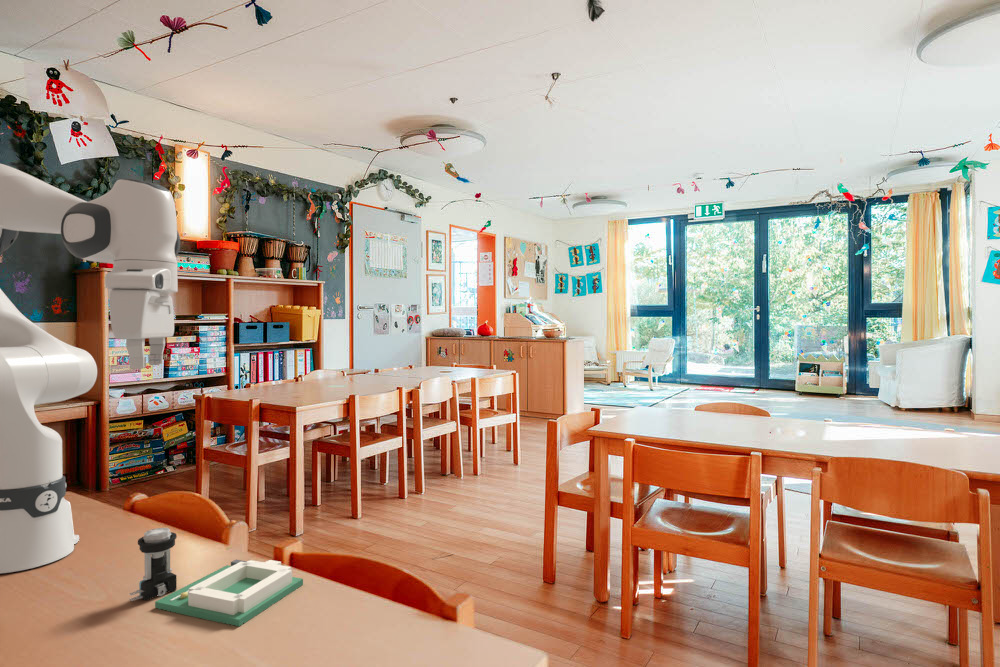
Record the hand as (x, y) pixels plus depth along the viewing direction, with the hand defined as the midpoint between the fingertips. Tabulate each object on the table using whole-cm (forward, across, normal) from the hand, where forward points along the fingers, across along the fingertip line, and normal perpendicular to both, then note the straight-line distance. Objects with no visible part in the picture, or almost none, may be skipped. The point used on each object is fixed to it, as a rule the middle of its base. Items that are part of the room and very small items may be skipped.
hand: (147, 366), depth 93 cm
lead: (+36, -2, +16) cm, 40 cm away
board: (+36, +6, +13) cm, 39 cm away
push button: (+36, +2, +1) cm, 37 cm away
